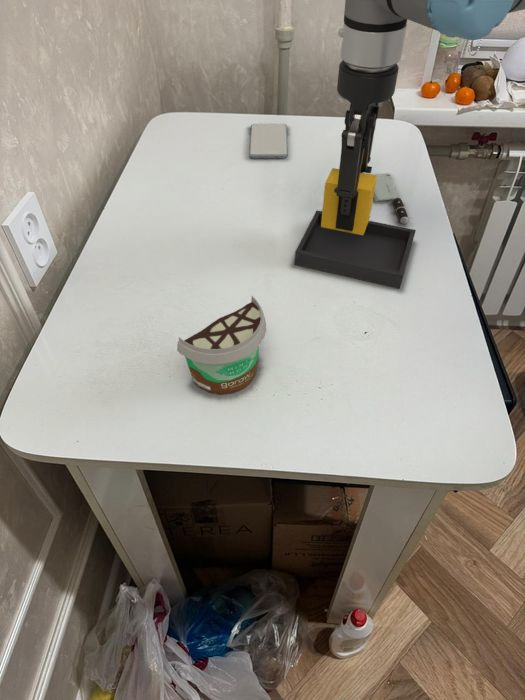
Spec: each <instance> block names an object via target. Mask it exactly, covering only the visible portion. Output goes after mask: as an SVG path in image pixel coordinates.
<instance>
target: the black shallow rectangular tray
mask: <svg viewBox="0 0 525 700" xmlns="http://www.w3.org/2000/svg"><path fill="white" fill-rule="evenodd" d="M321 220H322V210H315V212H314V215H313V217H312V219H311V220H310V222H309V224H308V226H307V228H306V230H305V231H304V234H303V236H302V238H301V240H300V242H299V244H298V246H297V248H296V249H295V252H294V266H297V267H302V268H306V269H309V270H315V271H320V272H324V273H328V274H333V275H337V276H342V277H345V278H350V279H354V280H359V281H363V282H367V283H373V284H375V285H380V286H385V287H390V288H394V289H398V290H399V289H401V286H402V282H403V279H404V276H405V272H406V269H407V268H406V267H407V264H408V261H409V258H410V253H411V250H412V247H413V244H414V243H413V242H414V238H415V235H416V232H417V230H416V229H413V228H409V227H408V228H407V227H405V226H398V225H393V224H388V223H383V222H377V221H373V220H369V222H368V224H367V227H366V230H365V232H364V235H358V234H353V233H348V232H343V231H338V230H333V229H328V228H323V227H321Z"/></svg>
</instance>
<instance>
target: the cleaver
mask: <svg viewBox="0 0 525 700" xmlns="http://www.w3.org/2000/svg"><path fill="white" fill-rule="evenodd" d="M375 175H376V176H377V179H376V185H375V190H374V196H373V200H374V201H375V202H384V201H388V200H389V201H391V200H392V203H393V207H394V210H395V212H396V215H397V218H398V220H399V223H401V224H402V225H406V224H408V222H409V221H410V219H409V216H408V213H407V210H406V207H405V204H404V202H403V200H402V198H400V197H399V193H398V191H397V189H396V187H395V183H394V181H393V179H392V175H391V173H390V172H387V173H381V174H375Z"/></svg>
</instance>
